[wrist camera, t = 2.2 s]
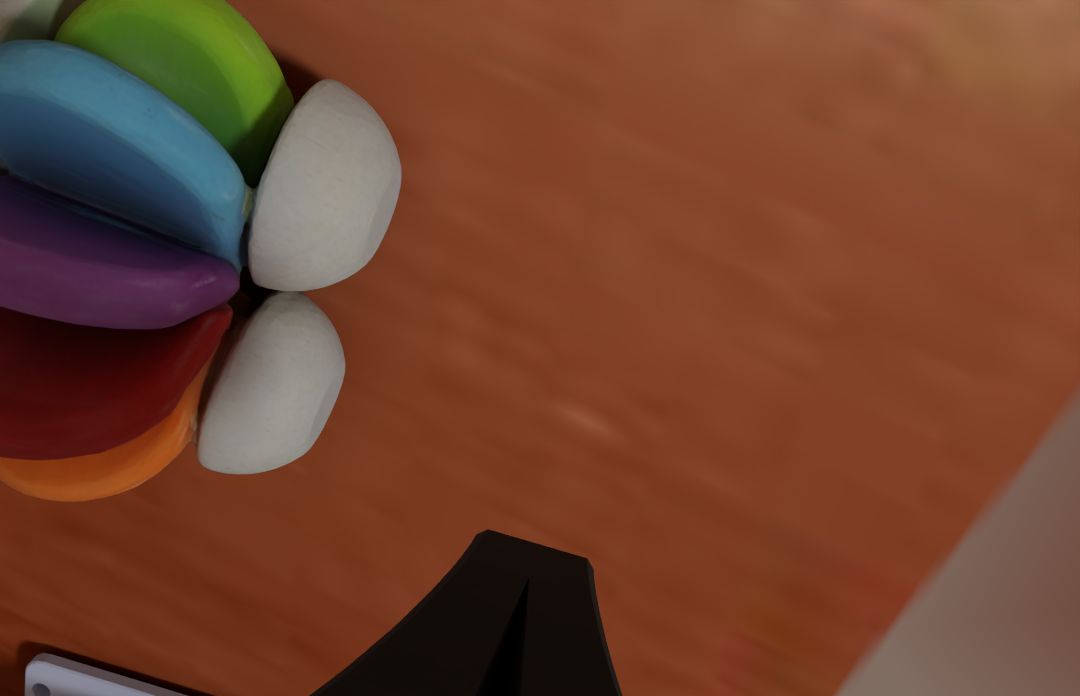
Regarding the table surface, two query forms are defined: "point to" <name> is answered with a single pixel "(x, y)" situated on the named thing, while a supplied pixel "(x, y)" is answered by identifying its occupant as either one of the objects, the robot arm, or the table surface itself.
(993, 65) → the table surface
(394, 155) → the rainbow petal cluster
